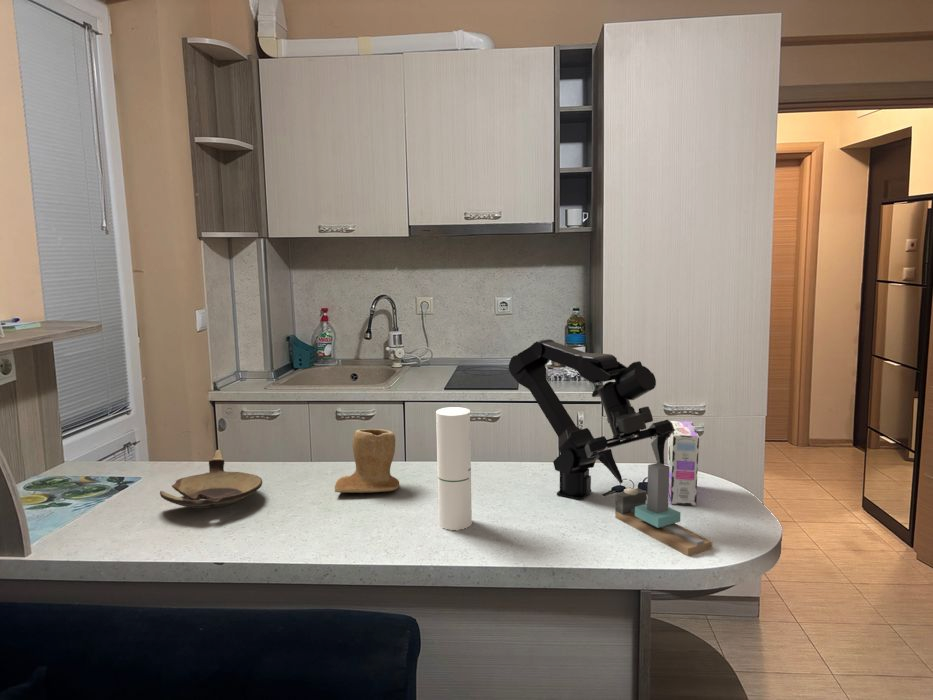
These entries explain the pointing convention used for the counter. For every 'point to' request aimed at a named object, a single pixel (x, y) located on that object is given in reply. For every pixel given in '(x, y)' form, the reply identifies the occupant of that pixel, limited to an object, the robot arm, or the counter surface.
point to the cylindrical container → (454, 467)
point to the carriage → (657, 498)
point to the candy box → (683, 463)
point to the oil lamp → (214, 486)
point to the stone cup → (370, 463)
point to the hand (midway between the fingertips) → (642, 477)
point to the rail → (667, 534)
